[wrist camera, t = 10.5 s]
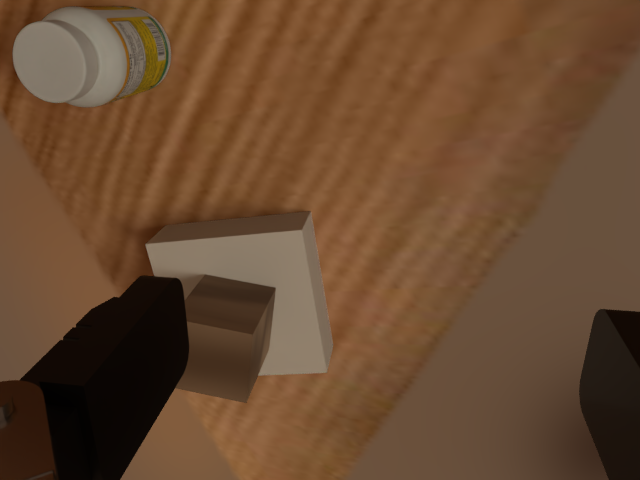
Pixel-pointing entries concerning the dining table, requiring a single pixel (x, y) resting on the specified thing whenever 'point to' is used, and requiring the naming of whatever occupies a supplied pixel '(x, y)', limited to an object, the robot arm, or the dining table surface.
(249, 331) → the walnut block
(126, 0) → the dining table surface
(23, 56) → the supplement bottle
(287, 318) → the riser block
